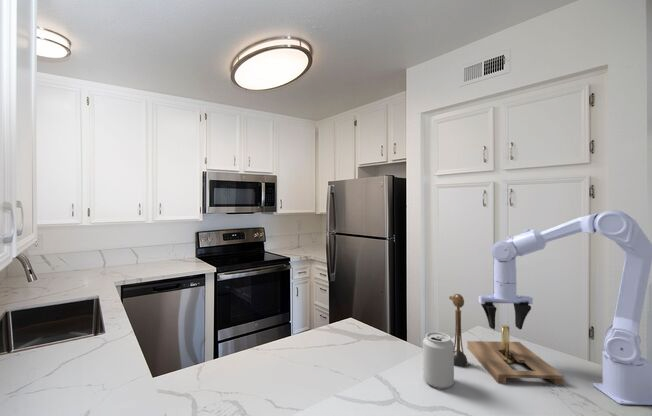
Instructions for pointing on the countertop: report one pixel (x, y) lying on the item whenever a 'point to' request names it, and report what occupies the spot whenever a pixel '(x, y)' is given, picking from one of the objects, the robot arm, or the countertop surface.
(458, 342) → the wooden tabletop sculpture
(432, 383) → the can
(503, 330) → the peg
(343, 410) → the countertop surface
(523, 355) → the keyhole plate
